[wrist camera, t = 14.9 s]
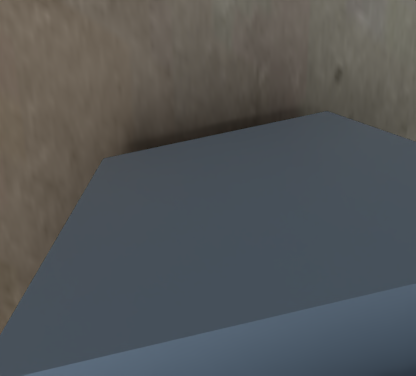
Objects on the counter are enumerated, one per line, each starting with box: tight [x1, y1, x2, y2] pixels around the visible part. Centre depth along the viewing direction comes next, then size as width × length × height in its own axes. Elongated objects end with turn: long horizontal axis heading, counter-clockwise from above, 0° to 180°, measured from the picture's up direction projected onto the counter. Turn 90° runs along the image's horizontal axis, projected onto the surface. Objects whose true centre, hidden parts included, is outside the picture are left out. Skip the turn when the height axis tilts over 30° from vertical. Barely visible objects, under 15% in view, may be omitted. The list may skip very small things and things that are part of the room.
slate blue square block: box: [0, 111, 416, 376], centre depth 9 cm, size 8×8×9 cm
